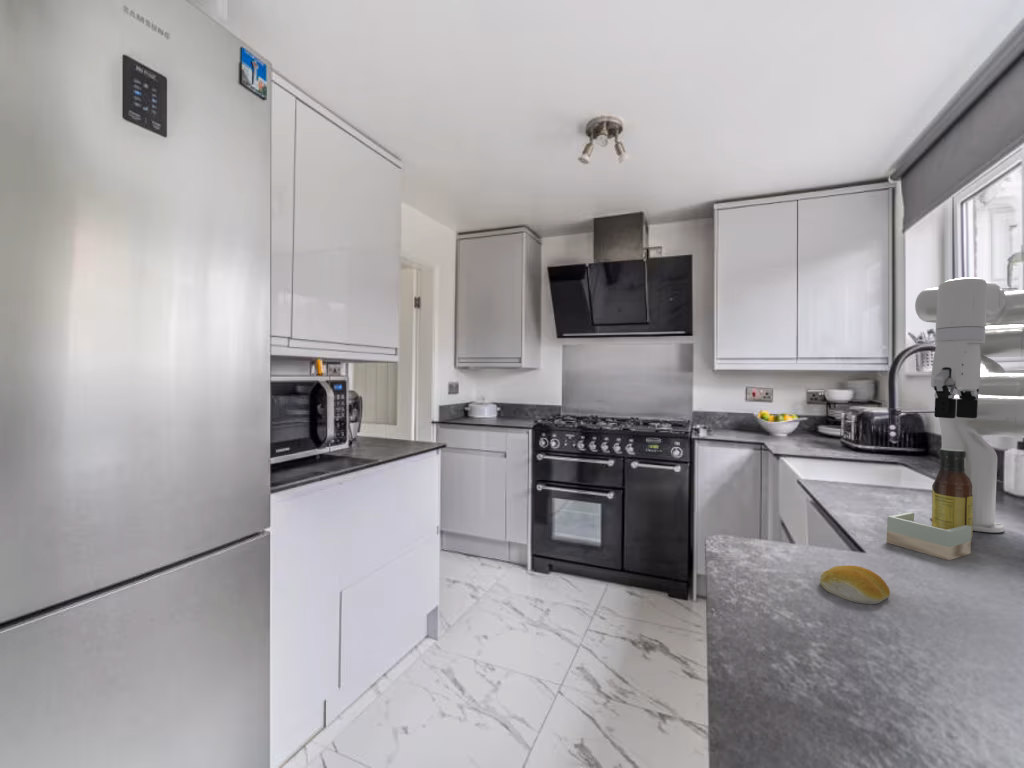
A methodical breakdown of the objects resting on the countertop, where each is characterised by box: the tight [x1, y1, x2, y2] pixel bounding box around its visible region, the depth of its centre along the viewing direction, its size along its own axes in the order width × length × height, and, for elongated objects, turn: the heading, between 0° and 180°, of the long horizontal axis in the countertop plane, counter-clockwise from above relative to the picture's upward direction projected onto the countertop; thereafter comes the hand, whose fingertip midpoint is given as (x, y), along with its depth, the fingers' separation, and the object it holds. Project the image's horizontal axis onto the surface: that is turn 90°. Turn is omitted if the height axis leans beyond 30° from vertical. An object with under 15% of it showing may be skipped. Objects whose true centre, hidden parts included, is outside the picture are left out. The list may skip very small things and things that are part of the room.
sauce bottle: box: [931, 447, 974, 544], centre depth 96 cm, size 7×6×20 cm
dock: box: [886, 511, 972, 561], centre depth 91 cm, size 9×10×6 cm
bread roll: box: [819, 565, 891, 605], centre depth 71 cm, size 8×9×4 cm
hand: (955, 417), depth 95 cm, fingers open, 9 cm apart
